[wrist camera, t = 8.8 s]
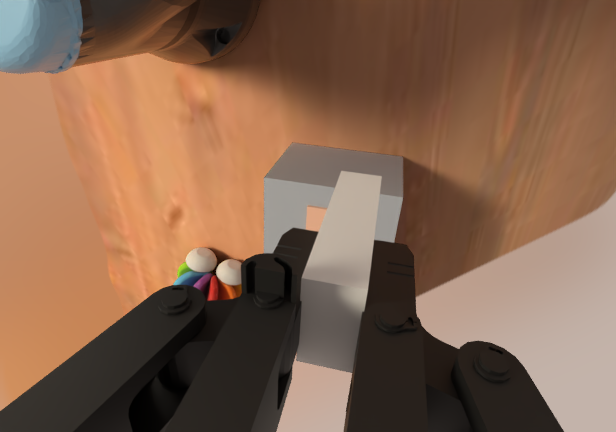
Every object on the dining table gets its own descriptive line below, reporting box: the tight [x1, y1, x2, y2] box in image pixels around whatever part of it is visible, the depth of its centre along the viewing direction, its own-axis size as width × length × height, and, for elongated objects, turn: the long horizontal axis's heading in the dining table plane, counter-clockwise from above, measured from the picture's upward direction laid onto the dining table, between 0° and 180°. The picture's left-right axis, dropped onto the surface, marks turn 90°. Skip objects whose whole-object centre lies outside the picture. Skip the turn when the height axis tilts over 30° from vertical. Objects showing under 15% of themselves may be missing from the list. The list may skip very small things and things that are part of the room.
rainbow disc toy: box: [174, 247, 242, 301], centre depth 51 cm, size 8×10×7 cm
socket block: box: [264, 143, 403, 253], centre depth 41 cm, size 12×16×10 cm
